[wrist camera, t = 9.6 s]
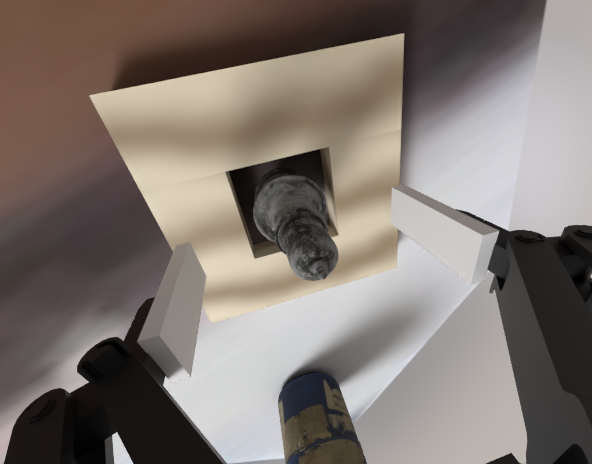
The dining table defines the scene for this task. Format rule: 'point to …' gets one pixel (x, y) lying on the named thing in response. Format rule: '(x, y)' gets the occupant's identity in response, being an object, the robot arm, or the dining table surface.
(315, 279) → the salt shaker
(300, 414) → the canister
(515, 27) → the dining table surface
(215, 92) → the socket
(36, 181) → the dining table surface
